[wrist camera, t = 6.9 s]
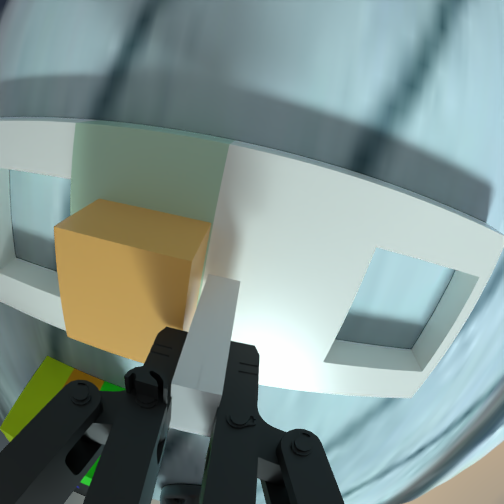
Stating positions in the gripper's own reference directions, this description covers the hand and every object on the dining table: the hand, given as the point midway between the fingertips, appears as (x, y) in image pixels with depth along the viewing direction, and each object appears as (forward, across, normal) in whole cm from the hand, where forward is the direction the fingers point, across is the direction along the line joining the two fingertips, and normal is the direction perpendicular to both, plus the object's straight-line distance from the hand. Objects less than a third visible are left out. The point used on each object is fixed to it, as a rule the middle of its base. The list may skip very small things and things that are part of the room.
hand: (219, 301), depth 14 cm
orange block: (+1, +4, 0) cm, 4 cm away
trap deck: (+4, +1, 0) cm, 4 cm away
